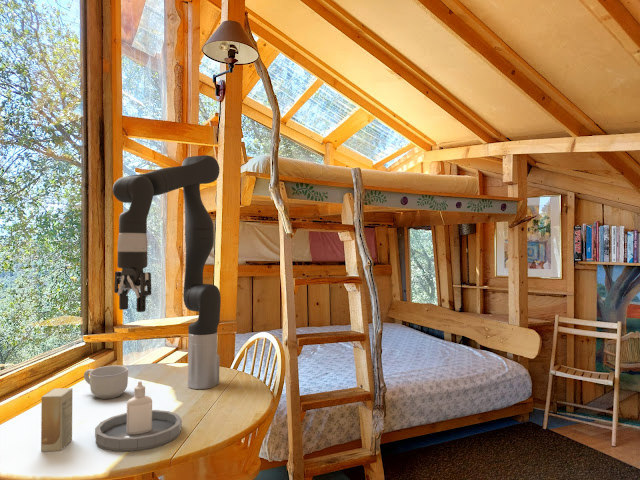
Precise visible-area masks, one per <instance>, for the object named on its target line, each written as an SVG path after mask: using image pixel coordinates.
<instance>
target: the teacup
mask: <svg viewBox="0 0 640 480" xmlns="http://www.w3.org/2000/svg"><path fill="white" fill-rule="evenodd" d="M83 373H84V374H83V377H84V381H86V383H87V384H88V385H89V387H90V391H91V393H92V395H93V396H95V397H96V398H98V399H103V400H107V399H114V398H116V397H117V398H118V397H119V396H121V395H122V394H123V393H124V392H125V391H126V390H127V388H128V384H129V383H128V382H129V381H128V378H129V368H128V367H127V366H125V365H119V364H118V365H106V366H105V365H104V366H100V367H96V368H94V369H93V368H89V369H86V370H85V371H84V372H83Z"/></svg>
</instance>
